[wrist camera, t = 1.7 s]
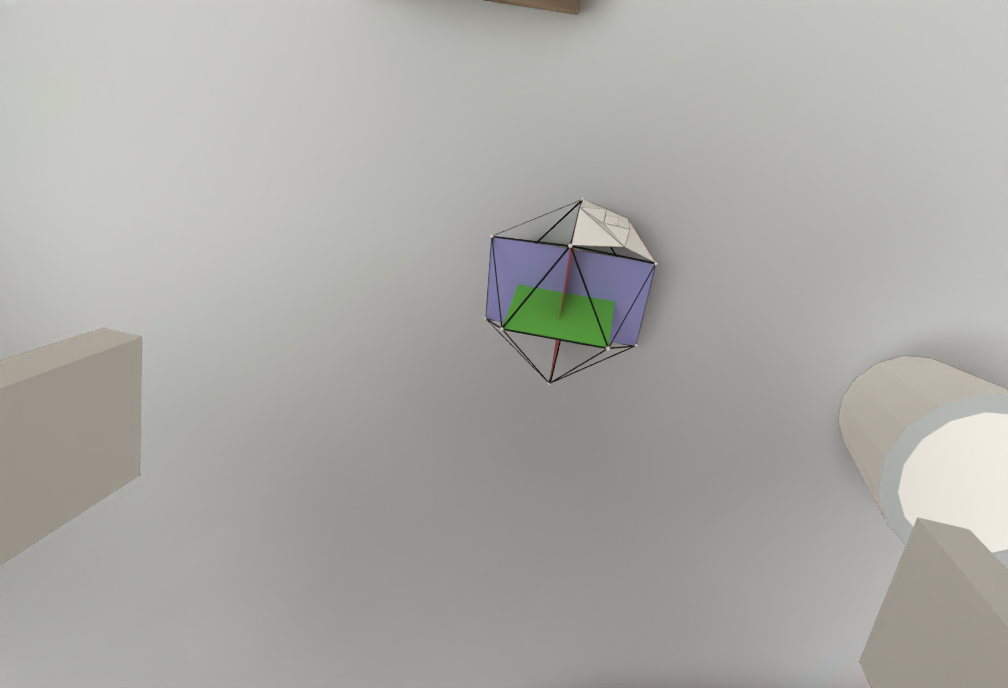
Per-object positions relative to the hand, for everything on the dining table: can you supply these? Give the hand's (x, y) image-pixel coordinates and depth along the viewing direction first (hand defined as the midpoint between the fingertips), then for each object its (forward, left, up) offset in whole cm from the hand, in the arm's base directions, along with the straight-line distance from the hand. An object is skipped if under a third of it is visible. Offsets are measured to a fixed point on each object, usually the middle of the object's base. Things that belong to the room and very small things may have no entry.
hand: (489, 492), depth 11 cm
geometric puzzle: (0, 0, -21) cm, 21 cm away
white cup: (+16, -3, -21) cm, 27 cm away
